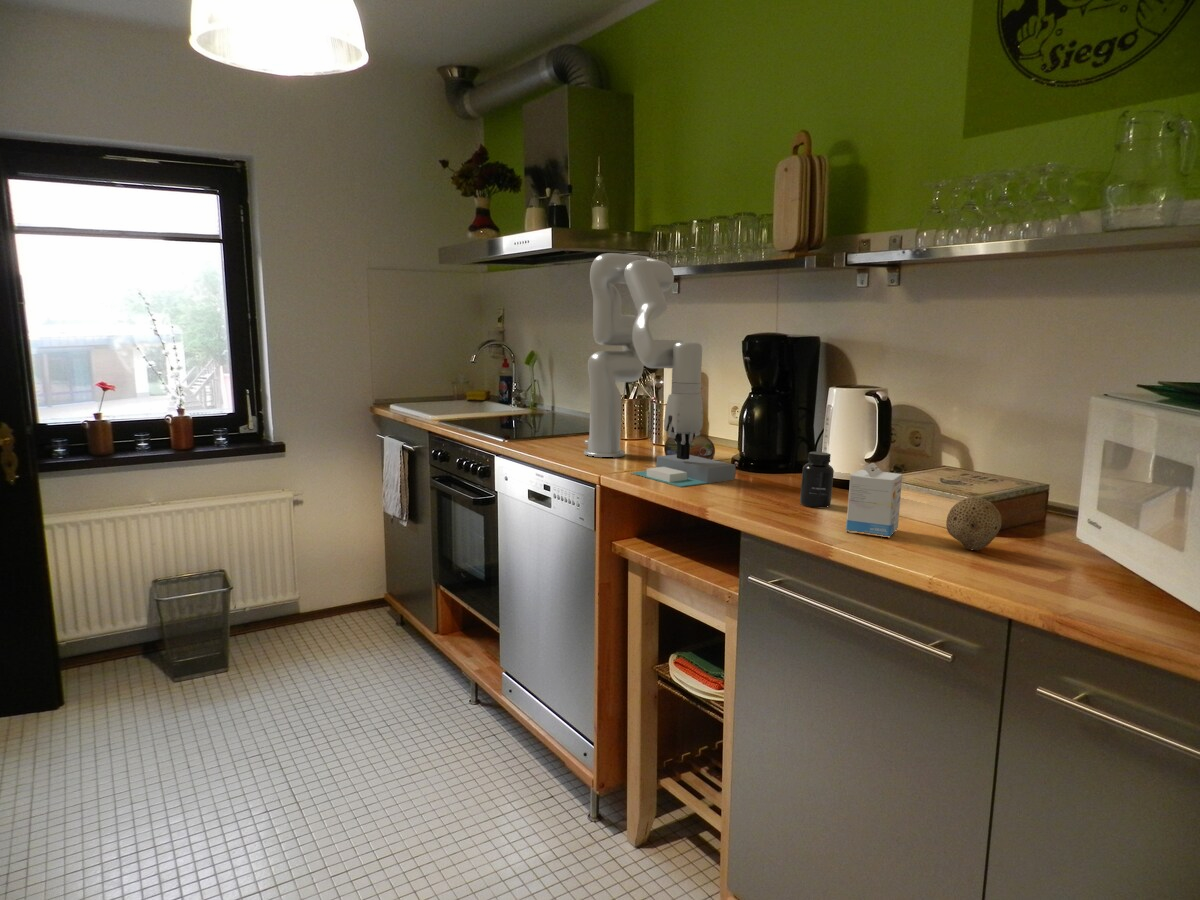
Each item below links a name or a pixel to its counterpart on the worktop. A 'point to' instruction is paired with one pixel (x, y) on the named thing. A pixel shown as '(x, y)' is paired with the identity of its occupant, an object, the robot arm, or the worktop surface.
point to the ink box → (874, 501)
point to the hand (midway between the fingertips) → (682, 458)
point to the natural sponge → (974, 522)
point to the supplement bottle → (817, 480)
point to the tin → (693, 447)
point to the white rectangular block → (666, 474)
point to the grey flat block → (699, 468)
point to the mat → (677, 483)
